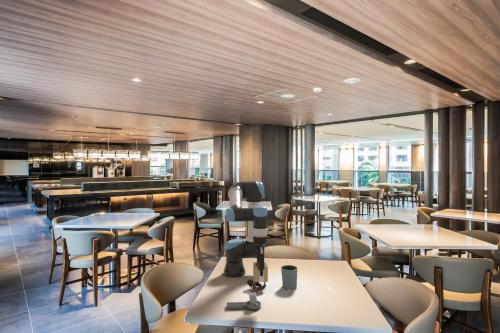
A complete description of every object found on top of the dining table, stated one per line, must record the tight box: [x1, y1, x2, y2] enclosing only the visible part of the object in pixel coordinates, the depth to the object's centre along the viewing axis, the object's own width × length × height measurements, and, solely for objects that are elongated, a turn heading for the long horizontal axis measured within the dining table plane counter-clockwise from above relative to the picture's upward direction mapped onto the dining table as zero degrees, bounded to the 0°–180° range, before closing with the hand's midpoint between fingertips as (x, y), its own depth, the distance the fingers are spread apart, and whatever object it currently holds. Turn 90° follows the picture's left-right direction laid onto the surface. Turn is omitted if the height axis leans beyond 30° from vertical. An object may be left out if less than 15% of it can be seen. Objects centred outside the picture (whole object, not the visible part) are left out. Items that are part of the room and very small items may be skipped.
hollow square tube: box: [252, 261, 269, 283], centre depth 158 cm, size 7×7×8 cm
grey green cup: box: [280, 264, 298, 291], centre depth 184 cm, size 10×10×12 cm
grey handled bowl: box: [226, 292, 262, 312], centre depth 157 cm, size 8×18×7 cm, turn 93°
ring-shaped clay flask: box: [246, 278, 267, 294], centre depth 180 cm, size 12×10×8 cm
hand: (260, 278), depth 158 cm, fingers closed on hollow square tube, 7 cm apart
